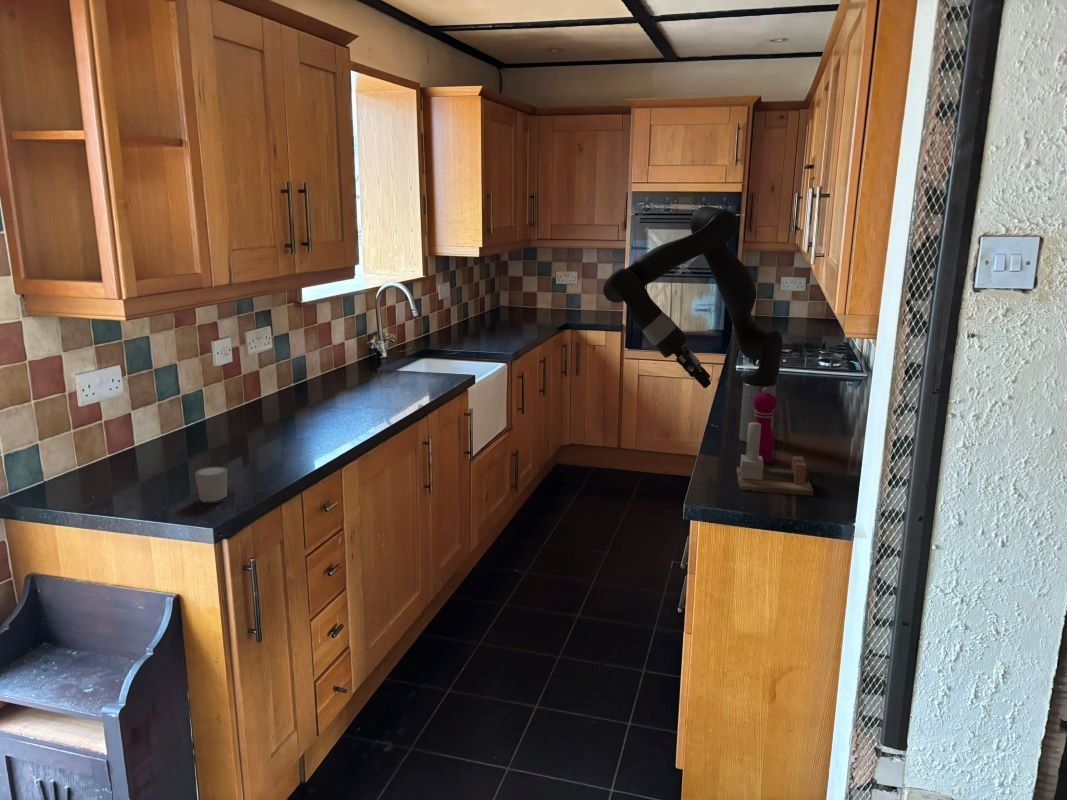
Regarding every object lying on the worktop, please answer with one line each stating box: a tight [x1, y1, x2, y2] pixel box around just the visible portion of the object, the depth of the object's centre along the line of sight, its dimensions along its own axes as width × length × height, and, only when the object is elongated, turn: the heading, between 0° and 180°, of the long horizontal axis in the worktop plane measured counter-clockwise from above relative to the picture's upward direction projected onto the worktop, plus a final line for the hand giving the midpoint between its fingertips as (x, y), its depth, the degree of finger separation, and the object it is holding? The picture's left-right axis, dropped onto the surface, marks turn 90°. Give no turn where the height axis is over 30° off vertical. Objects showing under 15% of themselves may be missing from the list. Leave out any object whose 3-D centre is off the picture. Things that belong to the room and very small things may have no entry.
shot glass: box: [194, 466, 228, 502], centre depth 178 cm, size 7×7×7 cm
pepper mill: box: [753, 388, 777, 463], centre depth 213 cm, size 7×7×20 cm
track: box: [736, 455, 814, 496], centre depth 195 cm, size 15×17×6 cm
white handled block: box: [739, 422, 764, 480], centre depth 195 cm, size 6×5×13 cm
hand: (708, 382), depth 196 cm, fingers open, 8 cm apart
